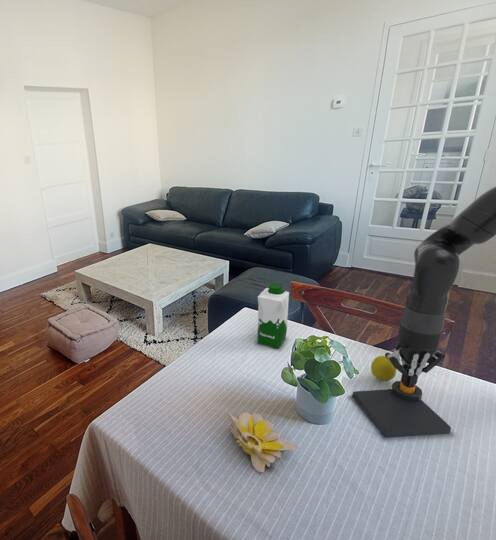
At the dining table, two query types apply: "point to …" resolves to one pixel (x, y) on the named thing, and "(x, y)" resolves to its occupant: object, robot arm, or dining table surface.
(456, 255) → the robot arm
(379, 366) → the lemon
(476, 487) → the dining table surface
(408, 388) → the tare button
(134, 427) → the dining table surface
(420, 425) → the scale
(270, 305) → the milk carton
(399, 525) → the dining table surface
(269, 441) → the decorative flower
